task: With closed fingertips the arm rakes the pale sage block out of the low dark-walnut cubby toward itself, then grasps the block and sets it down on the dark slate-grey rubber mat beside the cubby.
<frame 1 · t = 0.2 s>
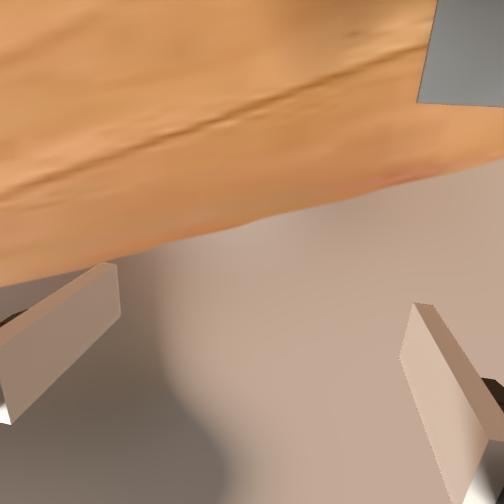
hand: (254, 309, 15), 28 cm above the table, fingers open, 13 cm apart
slate mat: (475, 55, 33), on the table
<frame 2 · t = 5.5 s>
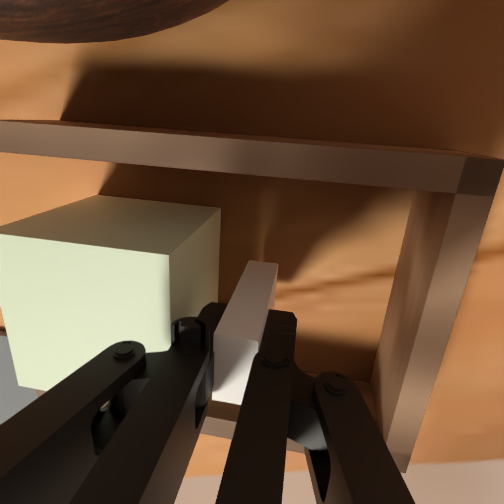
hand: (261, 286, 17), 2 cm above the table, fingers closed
sage block: (159, 261, 20), on the table, touching gripper
walnut cubby: (223, 269, 19), on the table
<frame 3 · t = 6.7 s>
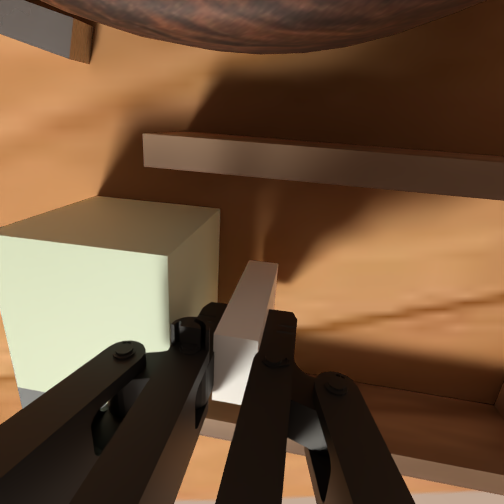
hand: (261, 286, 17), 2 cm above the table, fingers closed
slate mat: (80, 396, 24), on the table
sage block: (159, 262, 20), on the table, touching gripper
walnut cubby: (347, 287, 18), on the table
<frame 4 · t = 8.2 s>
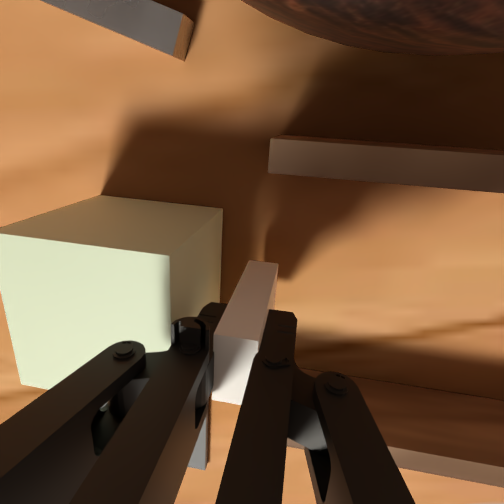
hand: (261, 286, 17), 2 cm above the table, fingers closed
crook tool: (90, 1, 16), on the table
slate mat: (145, 405, 24), on the table
sage block: (161, 261, 20), on the table, touching gripper
walnut cubby: (442, 294, 18), on the table
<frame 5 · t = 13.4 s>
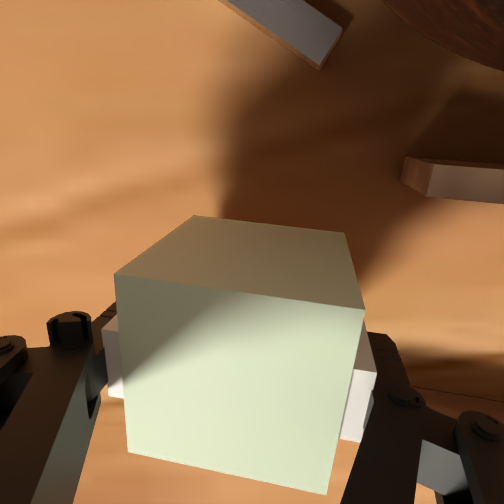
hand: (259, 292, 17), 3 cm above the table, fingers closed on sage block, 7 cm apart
sage block: (261, 291, 17), point 3 cm above the table, touching gripper
when the fingers open (2 cm above the table, at t = 17.3 s): sage block drops 1 cm, resting on slate mat.
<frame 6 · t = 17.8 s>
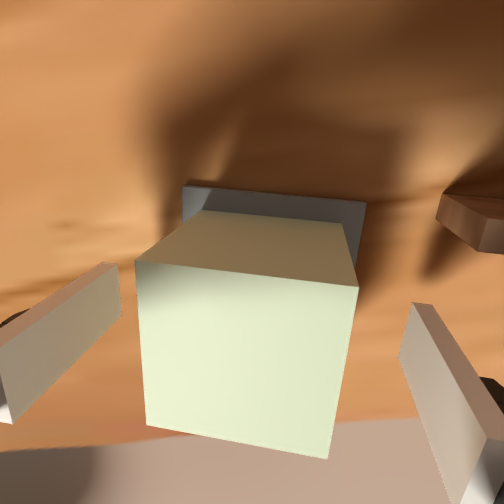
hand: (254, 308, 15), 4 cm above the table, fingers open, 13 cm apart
slate mat: (265, 275, 19), on the table
sage block: (264, 280, 18), resting on slate mat
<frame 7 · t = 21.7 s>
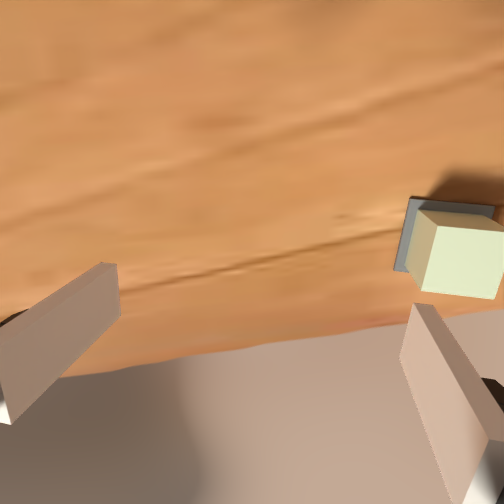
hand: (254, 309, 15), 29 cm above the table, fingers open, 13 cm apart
slate mat: (440, 239, 41), on the table
sage block: (442, 241, 40), resting on slate mat
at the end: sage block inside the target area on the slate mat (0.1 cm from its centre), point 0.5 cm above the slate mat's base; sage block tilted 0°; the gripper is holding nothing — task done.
